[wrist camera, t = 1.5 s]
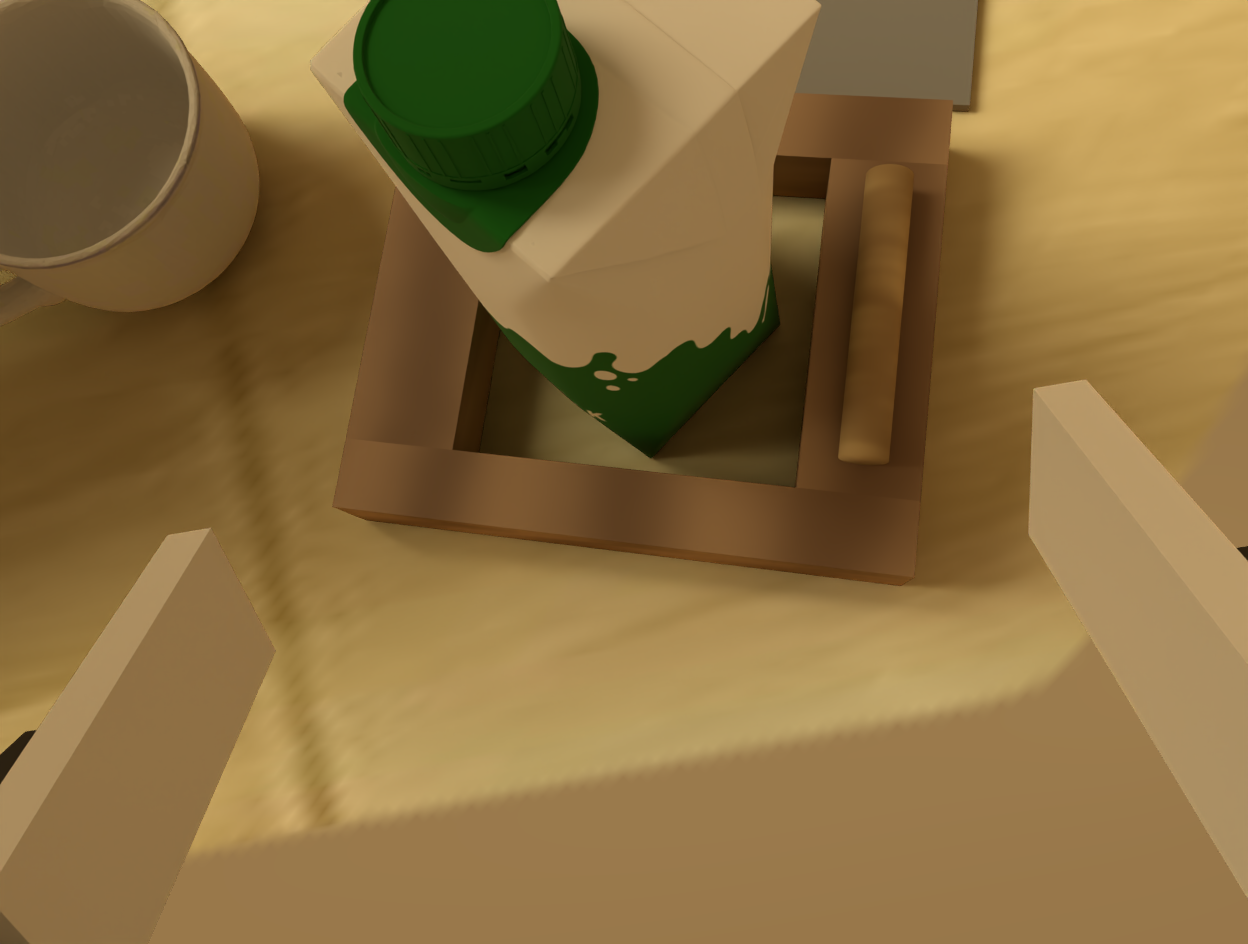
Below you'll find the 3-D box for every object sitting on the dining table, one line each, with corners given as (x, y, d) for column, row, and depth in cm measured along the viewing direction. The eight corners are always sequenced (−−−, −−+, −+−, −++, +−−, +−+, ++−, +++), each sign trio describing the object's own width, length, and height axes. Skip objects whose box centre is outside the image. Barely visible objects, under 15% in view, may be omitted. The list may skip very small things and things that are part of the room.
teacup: (211, 60, 43) (89, -77, 35) (345, 230, 40) (245, 123, 32) (-41, 257, 42) (-221, 162, 34) (77, 442, 40) (-89, 385, 32)
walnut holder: (365, 519, 37) (312, 498, 33) (442, 119, 40) (402, 49, 36) (900, 585, 34) (922, 572, 29) (937, 145, 37) (962, 72, 33)
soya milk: (492, 344, 38) (214, -3, 19) (651, 182, 38) (543, -320, 19) (652, 494, 36) (529, 279, 16) (818, 320, 36) (889, -87, 17)
